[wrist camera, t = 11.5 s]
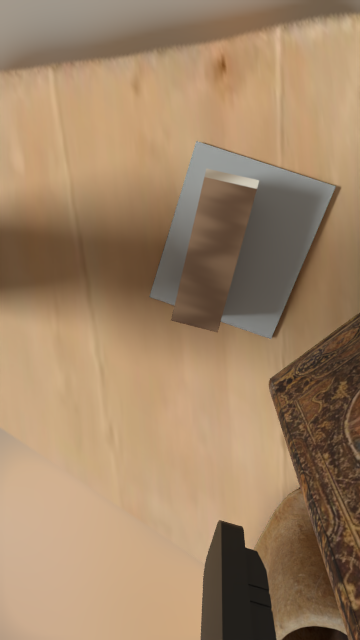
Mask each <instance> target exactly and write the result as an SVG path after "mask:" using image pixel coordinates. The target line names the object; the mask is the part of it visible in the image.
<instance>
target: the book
mask: <svg viewBox="0 0 360 640" xmlns="http://www.w3.org/2000/svg"><path fill="white" fill-rule="evenodd" d="M269 389H270V393H271V396H272V399H273V402H274V406H275V409H276V412H277V415H278V418H279V421H280V425H281V428H282V431H283V434H284V437H285V440H286V443H287V447H288V450H289V453H290V456H291V459H292V462H293V466H294V469H295V472H296V475H297V478H298V481H299V484H300V488H301V491H302V494H303V497H304V500H305V503H306V507H307V510H308V513H309V516H310V519H311V522H312V526H313V529H314V532H315V535H316V538H317V541H318V544H319V548H320V551H321V554H322V557H323V560H324V563H325V567H326V570H327V573H328V576H329V579H330V582H331V585H332V589H333V592H334V595H335V598H336V601H337V604H338V608H339V611H340V614H341V617H342V620H343V623H344V627H345V630H346V633H347V636H348V639H349V640H360V313H359V314H357V315H356V316H355V317H353V318H352V319H351V320H349V321H348V322H346V323H345V324H344V325H342V326H341V327H340V328H338V329H337V330H336V331H334V332H333V333H332V334H330V335H329V336H327V337H326V338H325V339H323V340H322V341H321V342H319V343H318V344H317V345H315V346H314V347H313V348H311V349H310V350H308V351H307V352H306V353H304V354H303V355H302V356H300V357H299V358H298V359H296V360H295V361H294V362H292V363H291V364H290V365H288V366H287V367H285V368H284V369H283V370H281V371H280V372H279V373H277V374H276V375H275V376H273V377H272V378H270V381H269Z"/></svg>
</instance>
